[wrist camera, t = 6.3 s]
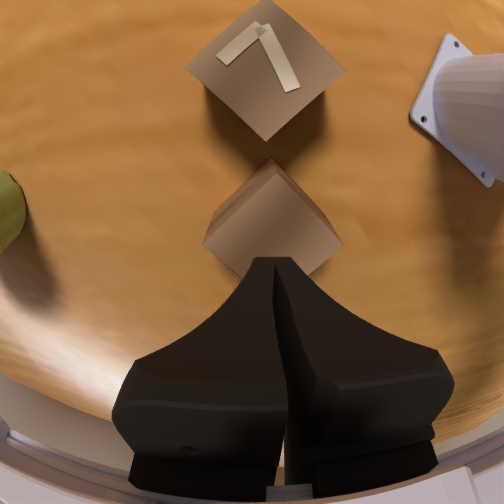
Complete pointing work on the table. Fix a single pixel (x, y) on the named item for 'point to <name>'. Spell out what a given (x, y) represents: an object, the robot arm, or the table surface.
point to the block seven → (265, 68)
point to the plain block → (270, 224)
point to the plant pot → (10, 210)
